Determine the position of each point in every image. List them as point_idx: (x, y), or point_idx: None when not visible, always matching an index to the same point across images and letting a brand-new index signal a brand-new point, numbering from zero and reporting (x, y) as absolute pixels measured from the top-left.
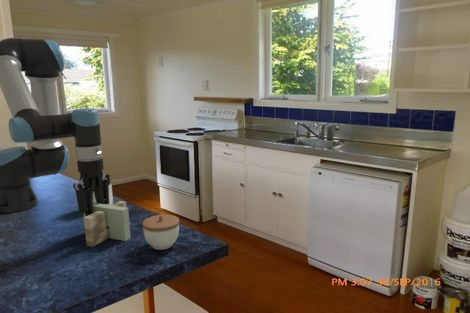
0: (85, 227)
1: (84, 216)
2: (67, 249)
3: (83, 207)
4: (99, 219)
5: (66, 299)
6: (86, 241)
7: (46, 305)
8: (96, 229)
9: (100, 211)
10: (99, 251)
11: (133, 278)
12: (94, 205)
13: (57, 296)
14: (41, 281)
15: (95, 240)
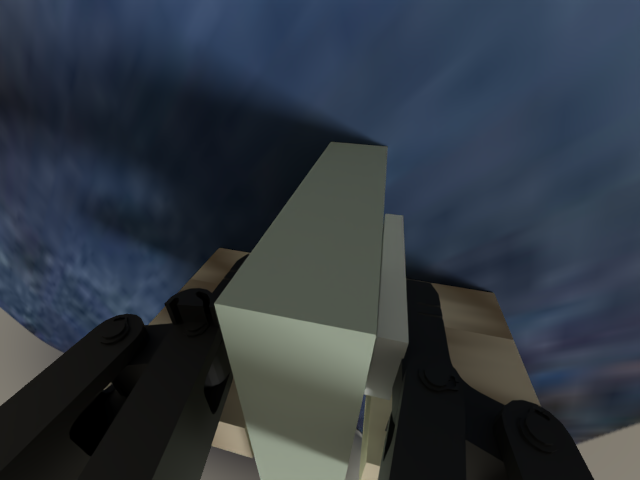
0: (155, 323)
1: (292, 200)
2: (146, 188)
3: (70, 433)
4: None
5: (55, 338)
6: (208, 261)
7: (19, 318)
8: None
9: (242, 440)
10: None
11: None
12: (266, 434)
13: (42, 320)
14: (16, 256)
15: None
